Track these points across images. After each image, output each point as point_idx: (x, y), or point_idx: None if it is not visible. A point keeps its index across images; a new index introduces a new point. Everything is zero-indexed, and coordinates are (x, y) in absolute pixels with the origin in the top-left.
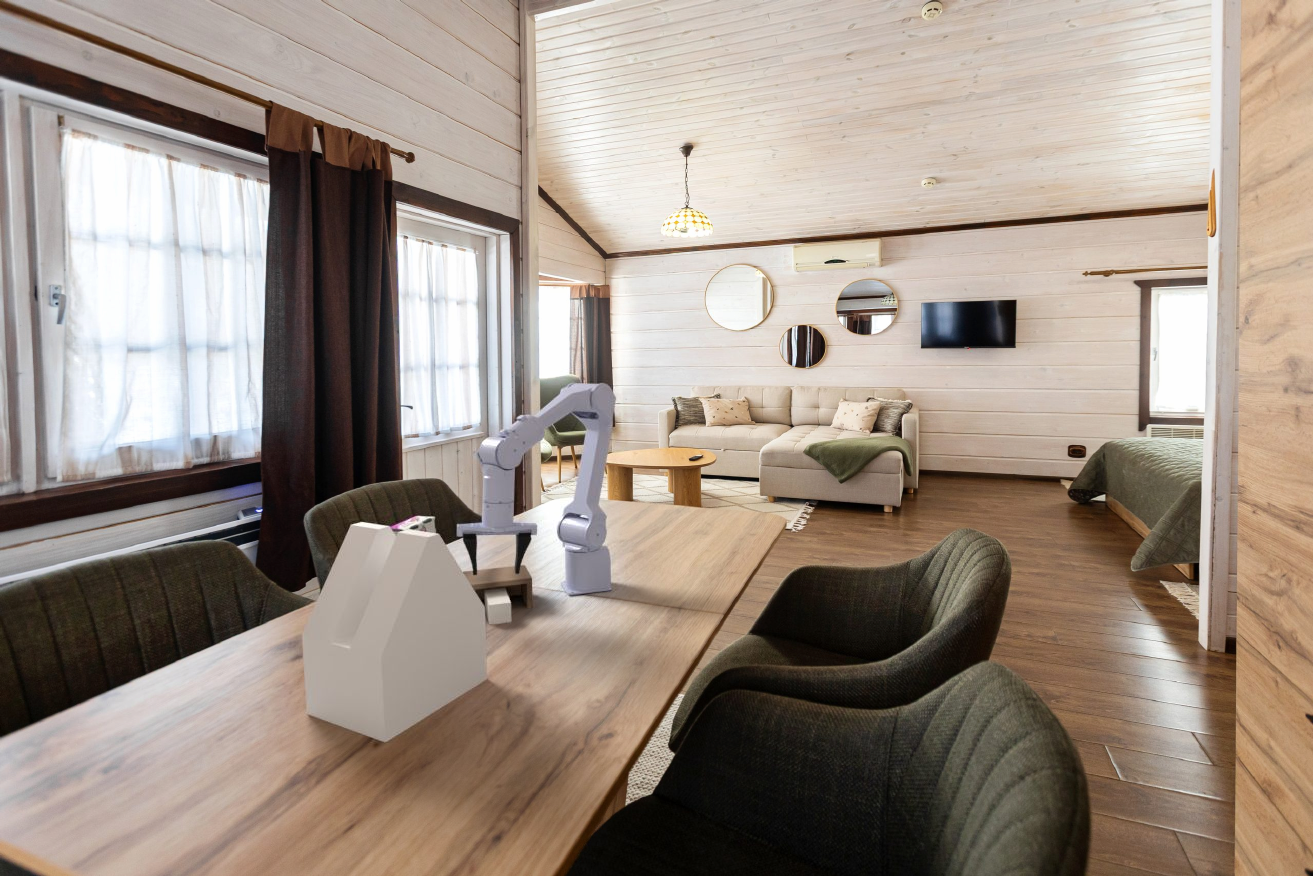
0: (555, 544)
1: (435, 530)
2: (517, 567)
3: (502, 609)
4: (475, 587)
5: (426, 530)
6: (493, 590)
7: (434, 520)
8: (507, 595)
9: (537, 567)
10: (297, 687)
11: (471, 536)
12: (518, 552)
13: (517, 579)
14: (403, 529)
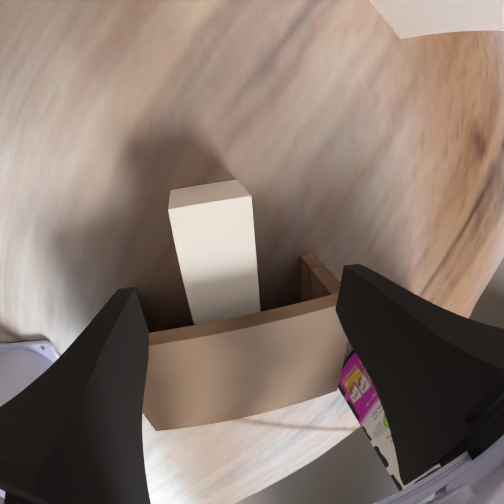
0: (150, 487)
1: (390, 472)
2: (116, 305)
3: (199, 196)
4: (300, 307)
5: None
6: None
7: (401, 488)
8: (185, 280)
9: (157, 450)
10: (494, 49)
11: (494, 423)
12: (83, 379)
13: (153, 346)
14: None
